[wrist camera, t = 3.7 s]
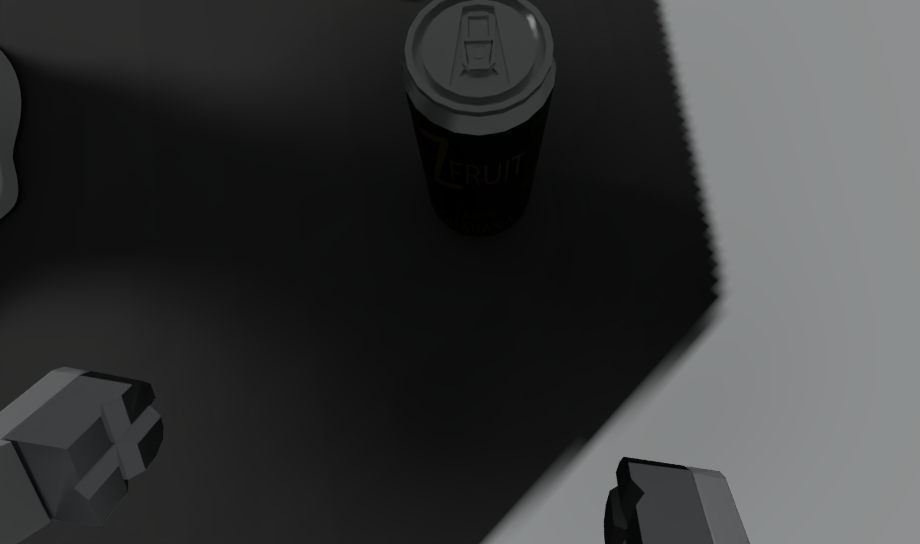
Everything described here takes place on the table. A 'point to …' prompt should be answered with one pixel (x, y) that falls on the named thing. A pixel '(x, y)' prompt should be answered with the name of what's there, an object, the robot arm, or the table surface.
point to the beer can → (479, 106)
